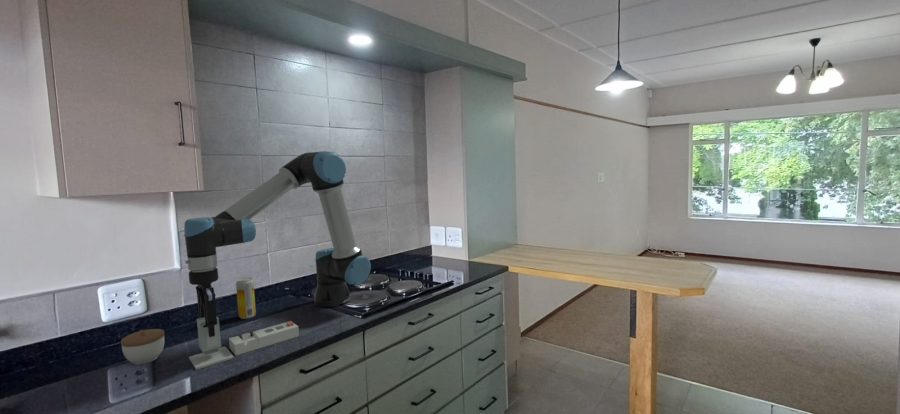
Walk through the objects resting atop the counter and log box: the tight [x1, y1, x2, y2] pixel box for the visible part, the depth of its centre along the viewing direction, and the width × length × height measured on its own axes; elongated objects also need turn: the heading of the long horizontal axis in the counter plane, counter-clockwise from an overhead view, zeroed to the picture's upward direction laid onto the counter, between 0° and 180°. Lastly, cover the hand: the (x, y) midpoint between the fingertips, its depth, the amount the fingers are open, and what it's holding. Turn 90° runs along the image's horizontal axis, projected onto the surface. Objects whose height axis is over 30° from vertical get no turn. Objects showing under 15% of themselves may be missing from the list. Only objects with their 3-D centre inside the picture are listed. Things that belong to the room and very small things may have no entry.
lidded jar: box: [120, 328, 165, 365], centre depth 125 cm, size 11×11×9 cm
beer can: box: [235, 277, 257, 320], centre depth 159 cm, size 6×6×15 cm
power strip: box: [228, 320, 300, 356], centre depth 136 cm, size 20×7×4 cm, turn 132°
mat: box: [188, 345, 234, 371], centre depth 125 cm, size 10×10×1 cm
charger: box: [196, 316, 222, 355], centre depth 125 cm, size 5×4×10 cm
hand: (210, 343), depth 125 cm, fingers closed on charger, 4 cm apart
